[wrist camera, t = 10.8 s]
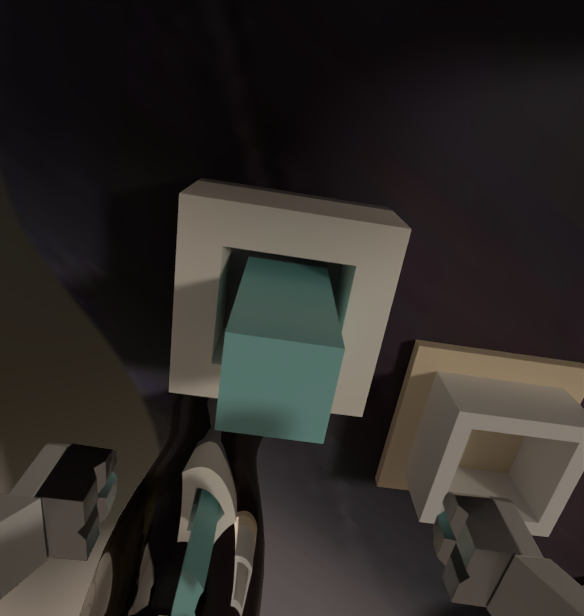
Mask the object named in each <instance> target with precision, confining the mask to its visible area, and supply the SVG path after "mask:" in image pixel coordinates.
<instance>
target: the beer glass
mask: <svg viewBox="0 0 584 616" xmlns="http://www.w3.org/2000/svg"><path fill="white" fill-rule="evenodd" d="M217 402H218V398H210V397H202V396H194V395H187V394H180V395H179V396H178V398H177V400H176V402H175V405H174V408H173V413H172V422H171V430H170V435H169V438H168V440H167V442H166V445H165V447H164V448H163V450H162V451H161V453H160V454H159V456H158V458H157V459H156V460H155V462H154V463H153V465H152V466H151V468H150V469H149V470H148V472H147V473H146V475H145V476H144V478H143V479H142V481H141V482H140V484H139V485H138V487H137V488H136V490H135V491H134V493H133V494H132V496H131V498H130V499H129V501H128V503H127V505H126V506H125V508H124V509H123V511H122V513H121V515H120V516H119V518H118V520H117V522H116V524H115V526H114V528H113V530H112V533H111V535H110V537H109V539H108V541H107V543H106V545H105V547H104V550H103V552H102V555H101V558H100V560H99V563H98V565H97V568H96V570H95V573H94V575H93V578H92V581H91V584H90V587H89V589H88V592H87V595H86V598H85V600H84V603H83V606H82V610H81V612H80V616H260V608H261V599H262V589H263V578H264V553H265V541H264V526H263V514H262V506H261V498H260V490H259V483H258V476H257V466H256V464H257V452H258V449H259V446H260V443H261V440H262V438H263V436H258V435H250V434H242V433H234V432H226V431H218V430H215V421H216V411H217Z"/></svg>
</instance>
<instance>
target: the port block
mask: <svg viewBox="0 0 584 616" xmlns="http://www.w3.org/2000/svg"><path fill="white" fill-rule="evenodd" d="M410 233H411V228H410V227H409V226H408V225H407V224H406V223H405V222H404V221H403V220H402V219H401V218H399V217H398V216H397V215H396V214H395V213H394V212H393V211H392V210H391V209H390V208H389V207H384V206H378V205H372V204H365V203H359V202H353V201H346V200H340V199H334V198H327V197H321V196H315V195H308V194H302V193H296V192H289V191H283V190H276V189H270V188H264V187H257V186H251V185H245V184H238V183H232V182H226V181H219V180H213V179H207V178H201V179H199V180H198V181H196V182H195V183H193V184H192V185H190V186H189V187H187V188H186V189H185V190H183V191H182V192H180V193H179V207H178V226H177V245H176V264H175V283H174V302H173V321H172V339H171V358H170V377H169V392H171V393H179V394H187V395H194V396H202V397H210V398H218V393H219V383H220V374H221V365H222V356H223V346H224V337H225V331H226V327H227V324H228V321H229V318H230V315H231V311H232V308H233V305H234V302H235V299H236V295H237V292H238V289H239V286H240V283H241V279H242V276H243V273H244V270H245V267H246V264H247V260H248V257H249V254H250V251H251V250H252V251H259V252H265V253H272V254H279V255H285V256H292V257H299V258H306V259H312V260H319V261H326V265H327V269H328V274H329V278H330V283H331V287H332V292H333V296H334V301H335V305H336V310H337V314H338V319H339V323H340V328H341V332H342V337H343V341H344V346H345V352H344V356H343V360H342V365H341V369H340V373H339V378H338V382H337V386H336V391H335V395H334V399H333V404H332V408H331V412H330V413H334V414H342V415H349V416H357V417H362V416H363V412H364V408H365V404H366V400H367V397H368V393H369V389H370V385H371V381H372V378H373V374H374V370H375V366H376V362H377V359H378V355H379V351H380V347H381V343H382V340H383V336H384V332H385V328H386V324H387V321H388V317H389V313H390V309H391V305H392V301H393V298H394V294H395V290H396V286H397V282H398V279H399V275H400V271H401V267H402V263H403V260H404V256H405V252H406V248H407V244H408V241H409V237H410Z"/></svg>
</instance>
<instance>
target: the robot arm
mask: <svg viewBox="0 0 584 616" xmlns="http://www.w3.org/2000/svg"><path fill="white" fill-rule="evenodd" d="M116 460H117V459H116V451H114V450H111V449H104V448H98V447H91V446H84V445H78V444H68V443H62V442H55V441H50V442H49V443H47V444H46V445H45V446H44V447H43V449H42V450H41V451H40V452H39V454H38V455H37V456H36V458H35V459H34V460H33V462H32V463H31V464H30V466H29V467H28V468H27V470H26V471H25V473H24V474H23V475H22V476H21V478H20V479H19V480H18V482H17V483H16V484H15V486H14V487H13V488H12V490H11V491H10V492H9V494H0V599H2V598H3V597H4V596H5V595H6V594H8V592H10V591H11V590H12V589H13V588H15V587H16V586H17V585H18V584H19V583H21V582H22V581H23V580H24V579H25V578H26V577H28V576H29V575H30V574H31V573H33V572H34V571H35V570H36V569H37V568H39V567H40V566H41V565H42V564H43V563H45V562H46V561H47V558H57V559H70V560H83V561H87V560H88V557H89V555H90V553H91V551H92V549H93V547H94V545H95V542H96V540H97V538H98V536H99V523H100V522H101V521H103V520H104V519H106V518H107V517H108V514H109V512H110V510H111V507H112V505H113V501H114V498H115V495H116V488H117V476H116V475H115V473H114V472H113V469H114V467H115V465H116V462H117V461H116ZM442 504H443V506H444V509H445V511H443V512H442V513H440V514H439V515H437V517H436V520H435V523H434V526H433V542H434V548H435V552H436V555H437V557H438V558H439V559H440V560H441V561H442V562H443V563H444V565H445V566H446V567H445V569H444V571H443V574H442V575H443V578H444V581H445V585H446V588H447V591H448V594H449V598H450V601H451V602H453V603H460V604H467V605H474V606H481V607H487V611H488V612H489V613H490V614H491V616H584V587H582V586H581V585H580V584H579V583H578V582H576V581H575V580H574V579H573V578H572V577H571V576H569V575H568V574H567V573H566V572H565V571H564V570H562V569H561V568H560V567H559V566H558V565H557V564H555V563H554V562H553V561H552V560H551V559H547V558H544V557H543V556H542V554H541V552H540V550H539V548H538V546H537V545H536V543H535V541H534V539H533V537H532V535H531V534H530V532H529V530H528V528H527V526H526V524H525V522H524V521H523V519H522V517H521V515H520V513H519V511H518V510H517V508H516V506H515V504H514V502H513V501H511V500H510V499H509V498H502V497H493V496H483V495H475V494H466V493H457V492H448V493H447V494H446V495H445V497H444V499H443V502H442Z"/></svg>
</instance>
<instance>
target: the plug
mask: <svg viewBox="0 0 584 616" xmlns="http://www.w3.org/2000/svg"><path fill="white" fill-rule="evenodd" d="M344 352H345V346H344V341H343V337H342V332H341V328H340V323H339V319H338V314H337V310H336V305H335V301H334V296H333V292H332V287H331V283H330V278H329V274H328V269H327V265H326V261H319V260H312V259H306V258H299V257H292V256H285V255H279V254H272V253H265V252H259V251H252V250H251V251H250V254H249V257H248V260H247V264H246V267H245V270H244V273H243V276H242V279H241V283H240V286H239V289H238V292H237V295H236V299H235V302H234V305H233V308H232V311H231V315H230V318H229V321H228V324H227V327H226V331H225V337H224V346H223V356H222V365H221V374H220V383H219V393H218V402H217V411H216V421H215V430H218V431H226V432H234V433H242V434H250V435H258V436H266V437H273V438H281V439H289V440H297V441H305V442H313V443H321V444H323V443H324V439H325V434H326V430H327V426H328V421H329V417H330V412H331V408H332V404H333V399H334V395H335V391H336V386H337V382H338V378H339V373H340V369H341V365H342V360H343V356H344Z"/></svg>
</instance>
